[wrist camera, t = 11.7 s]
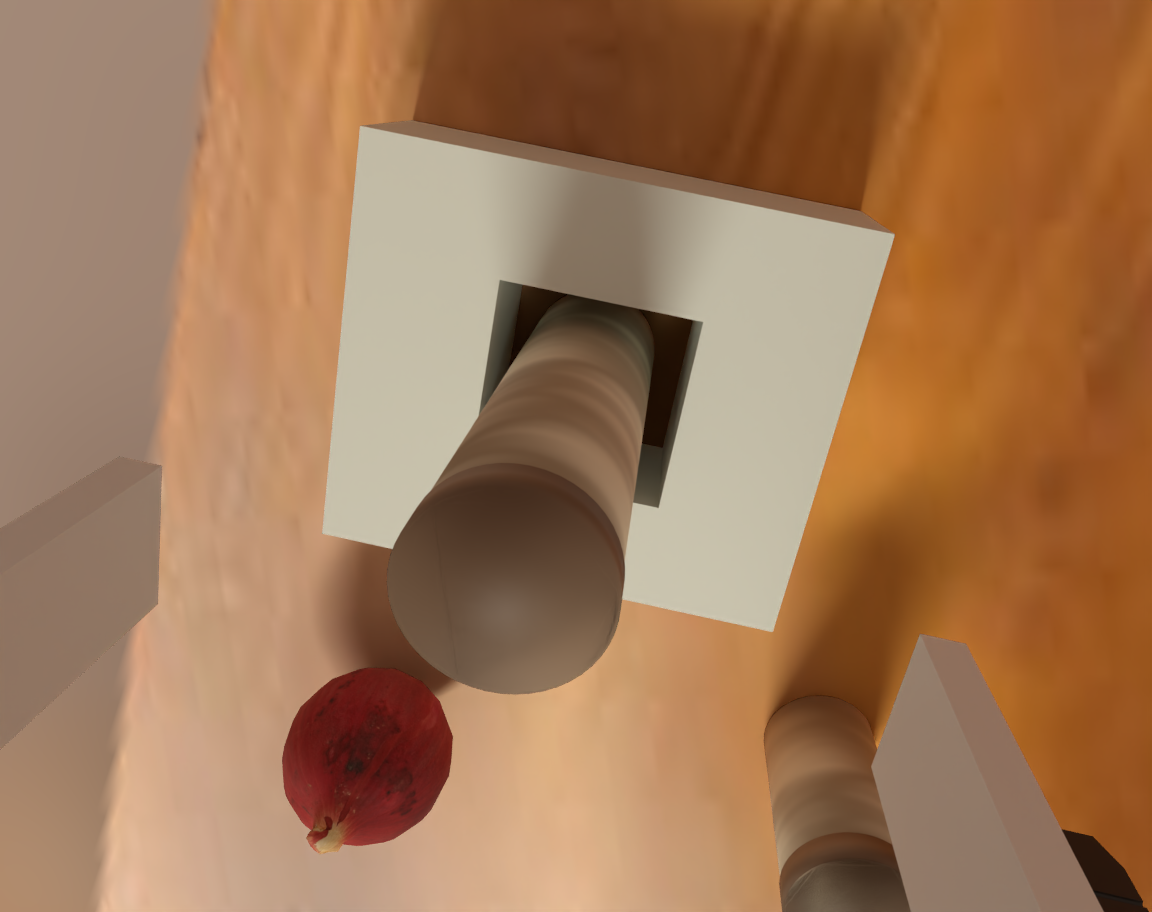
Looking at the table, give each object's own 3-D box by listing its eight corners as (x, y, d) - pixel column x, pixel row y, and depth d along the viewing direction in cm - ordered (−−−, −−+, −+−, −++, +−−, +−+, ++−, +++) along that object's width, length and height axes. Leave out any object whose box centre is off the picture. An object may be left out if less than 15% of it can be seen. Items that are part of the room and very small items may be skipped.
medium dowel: (888, 708, 35) (942, 875, 27) (855, 794, 36) (899, 975, 29) (778, 683, 35) (803, 843, 28) (750, 771, 36) (767, 945, 29)
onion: (355, 603, 36) (268, 738, 28) (494, 665, 36) (444, 815, 29) (307, 716, 38) (215, 868, 30) (439, 774, 38) (379, 939, 31)
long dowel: (668, 302, 30) (643, 515, 15) (642, 420, 32) (596, 715, 17) (543, 276, 30) (400, 462, 16) (523, 395, 32) (375, 666, 17)
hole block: (861, 211, 29) (894, 234, 24) (760, 556, 33) (772, 632, 28) (412, 120, 29) (360, 125, 24) (372, 472, 34) (322, 533, 29)
